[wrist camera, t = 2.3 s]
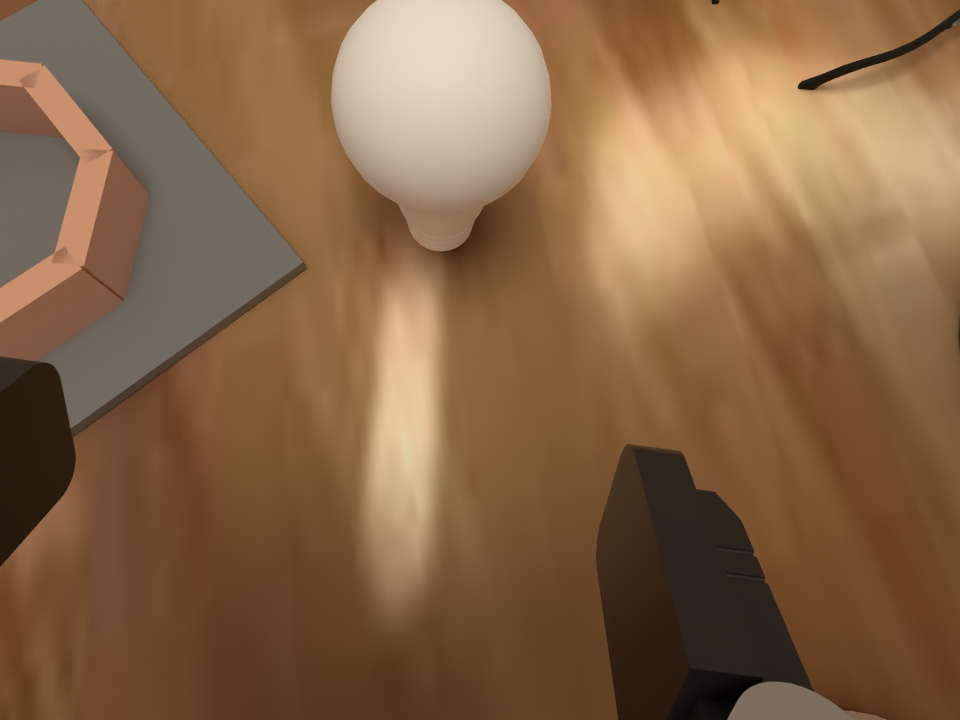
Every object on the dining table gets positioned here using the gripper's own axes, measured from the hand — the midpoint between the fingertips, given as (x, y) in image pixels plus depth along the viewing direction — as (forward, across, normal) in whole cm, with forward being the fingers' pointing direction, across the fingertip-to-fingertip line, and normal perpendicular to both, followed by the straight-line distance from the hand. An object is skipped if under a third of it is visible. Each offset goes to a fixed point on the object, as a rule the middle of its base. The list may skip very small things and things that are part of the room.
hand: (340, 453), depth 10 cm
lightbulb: (+18, 0, +3) cm, 18 cm away
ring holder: (+16, +16, +5) cm, 23 cm away
